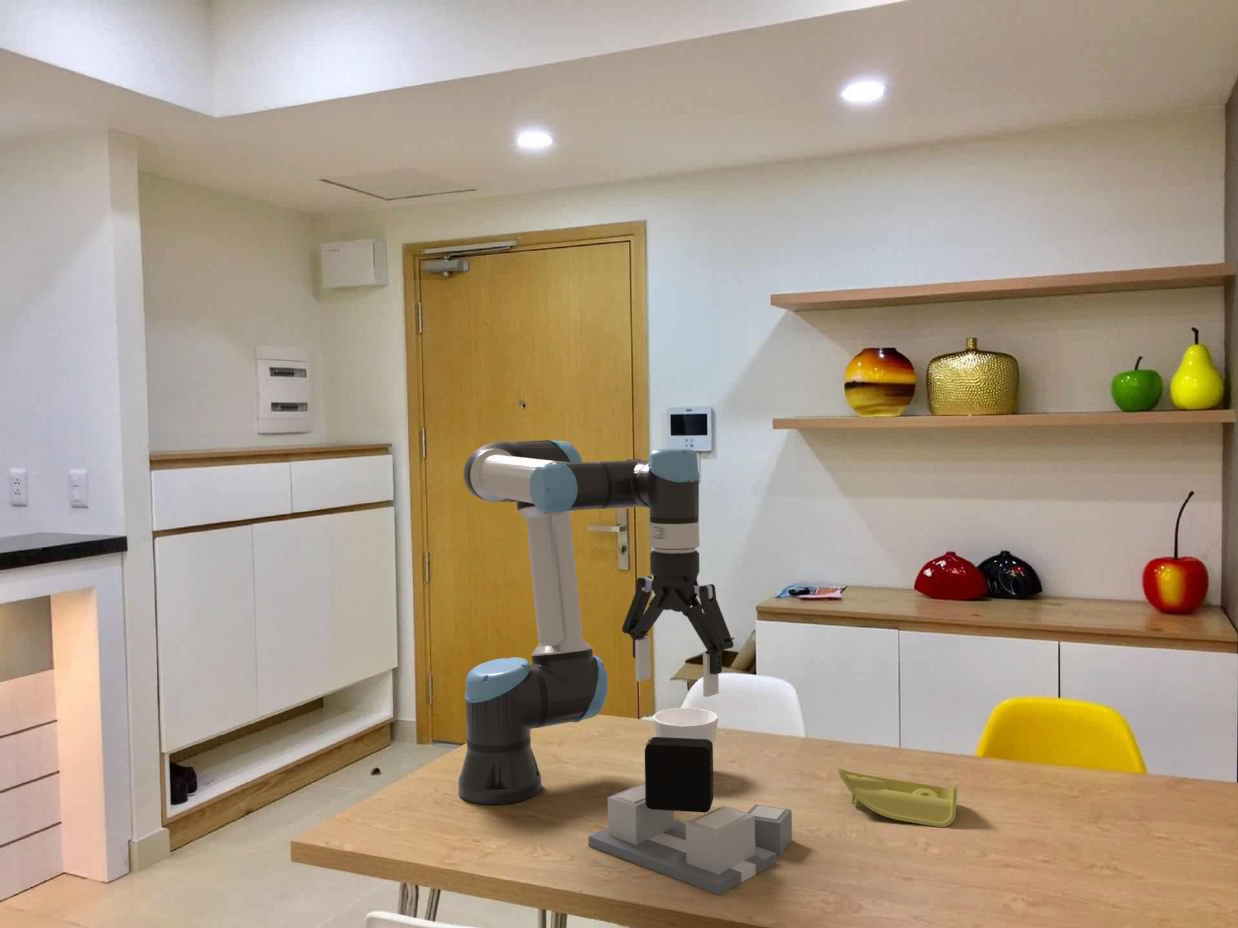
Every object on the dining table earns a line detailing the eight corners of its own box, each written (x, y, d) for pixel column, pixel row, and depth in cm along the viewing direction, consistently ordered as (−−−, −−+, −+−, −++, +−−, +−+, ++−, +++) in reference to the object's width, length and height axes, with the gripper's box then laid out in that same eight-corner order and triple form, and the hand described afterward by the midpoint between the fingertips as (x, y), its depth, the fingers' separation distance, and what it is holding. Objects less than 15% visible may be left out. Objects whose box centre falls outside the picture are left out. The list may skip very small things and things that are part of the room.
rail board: (588, 845, 160) (587, 797, 159) (647, 819, 170) (646, 774, 170) (719, 894, 142) (718, 840, 142) (776, 862, 152) (775, 812, 152)
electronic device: (710, 812, 152) (709, 747, 152) (645, 809, 154) (644, 744, 154) (713, 803, 156) (712, 739, 156) (650, 799, 158) (649, 736, 158)
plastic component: (955, 789, 175) (957, 782, 166) (952, 834, 172) (954, 829, 163) (839, 771, 181) (835, 763, 172) (835, 814, 178) (831, 808, 170)
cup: (730, 769, 194) (729, 712, 194) (699, 789, 184) (698, 729, 183) (673, 759, 201) (672, 704, 200) (641, 777, 190) (640, 719, 190)
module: (743, 848, 158) (742, 815, 158) (755, 834, 163) (755, 802, 163) (780, 855, 155) (779, 821, 155) (791, 840, 160) (791, 808, 160)
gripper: (599, 545, 160) (601, 678, 161) (724, 559, 143) (726, 706, 144) (631, 541, 166) (632, 669, 166) (755, 553, 148) (757, 696, 149)
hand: (676, 687), depth 155 cm, fingers open, 13 cm apart
